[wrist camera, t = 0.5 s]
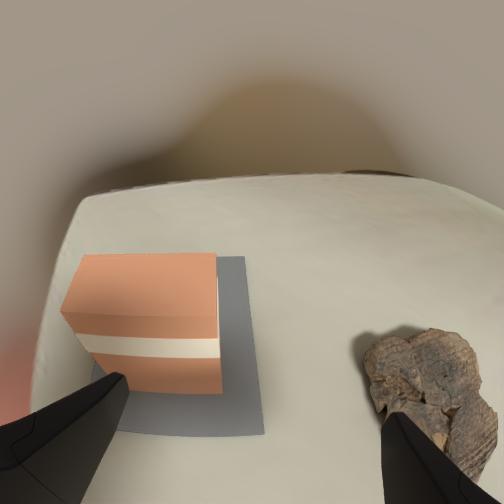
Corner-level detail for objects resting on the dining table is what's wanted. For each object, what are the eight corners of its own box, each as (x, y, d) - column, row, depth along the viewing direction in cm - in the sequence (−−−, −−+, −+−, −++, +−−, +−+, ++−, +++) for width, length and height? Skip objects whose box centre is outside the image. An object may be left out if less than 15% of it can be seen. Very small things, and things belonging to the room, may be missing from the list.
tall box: (223, 394, 22) (217, 316, 14) (119, 389, 21) (59, 311, 13) (221, 346, 26) (216, 252, 18) (126, 344, 25) (83, 254, 17)
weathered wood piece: (493, 465, 13) (446, 332, 28) (522, 453, 10) (466, 308, 24) (396, 526, 12) (354, 355, 26) (425, 528, 8) (371, 330, 23)
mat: (264, 434, 20) (264, 433, 19) (86, 424, 18) (85, 423, 18) (244, 258, 36) (244, 256, 36) (124, 260, 34) (124, 258, 34)
